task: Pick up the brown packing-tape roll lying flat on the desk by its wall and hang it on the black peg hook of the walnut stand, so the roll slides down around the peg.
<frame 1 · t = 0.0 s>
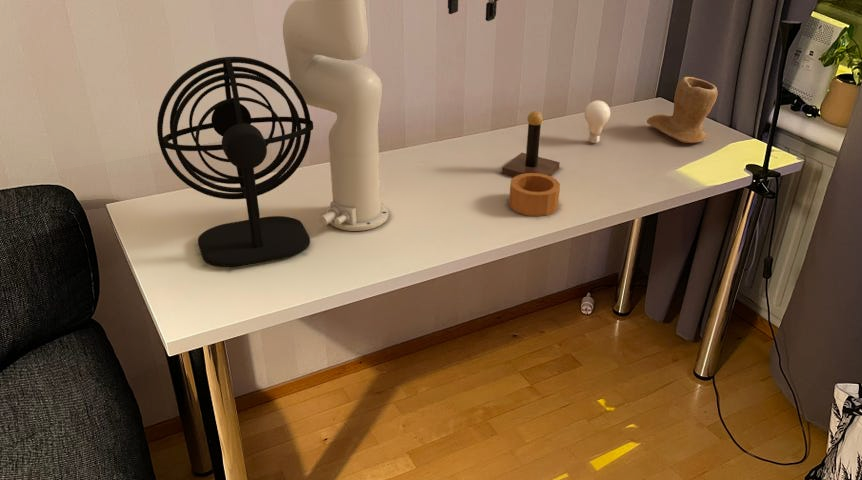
hand: (471, 16, 178), 31 cm above the table, tool pointing down, fingers open, 9 cm apart
brown boot: (680, 135, 205), on the table
hook base: (530, 170, 183), on the table
desk fan: (255, 243, 150), on the table
hook peg: (533, 138, 178), on the hook base, point 8 cm above the table
lightbulb: (593, 143, 198), on the table
tape roll: (533, 204, 168), on the table
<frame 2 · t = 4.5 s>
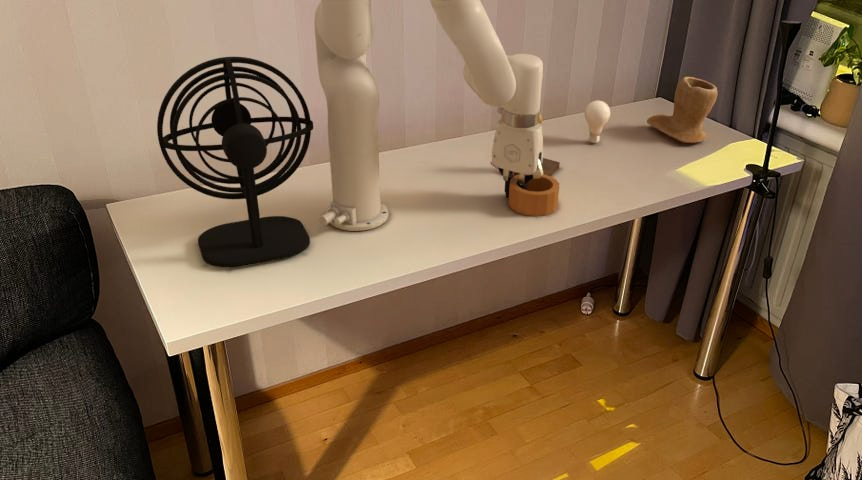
hand: (515, 197, 170), 1 cm above the table, tool pointing down, fingers closed on tape roll
tape roll: (532, 204, 168), on the table, touching gripper
everything else where it was.
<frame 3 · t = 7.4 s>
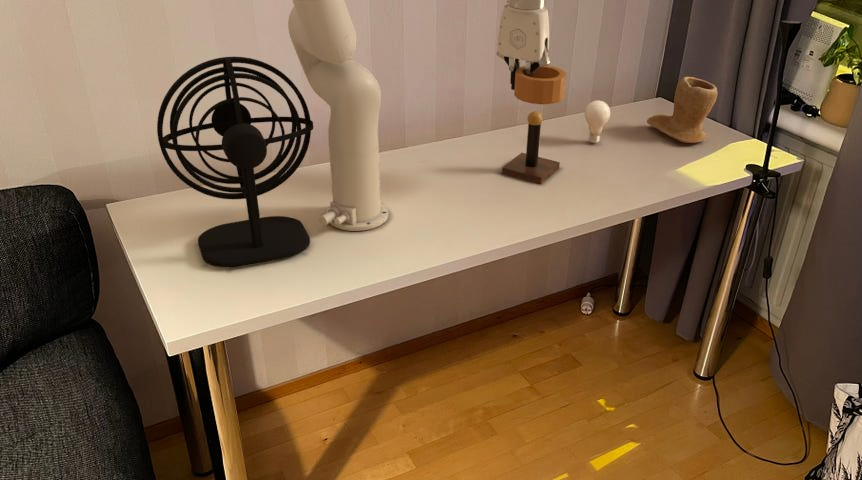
hand: (520, 88, 167), 21 cm above the table, tool pointing down, fingers closed on tape roll
tape roll: (539, 95, 166), point 21 cm above the table, touching gripper
everything else where it was.
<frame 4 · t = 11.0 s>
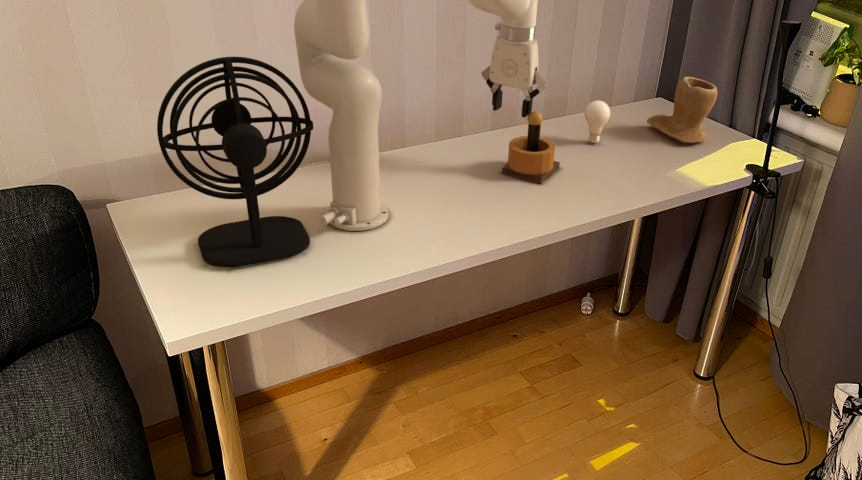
hand: (511, 111, 178), 13 cm above the table, tool pointing down, fingers open, 6 cm apart
tape roll: (530, 164, 182), point 2 cm above the table, touching hook base
everything else where it was.
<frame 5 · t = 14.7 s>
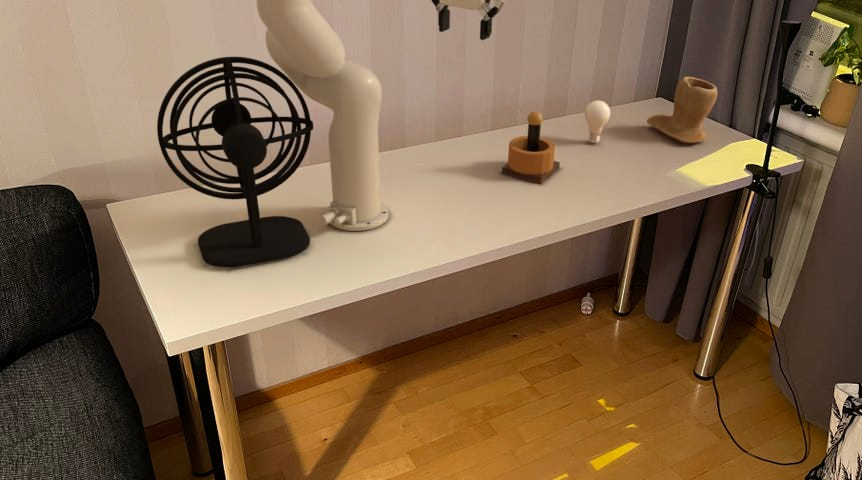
hand: (464, 34, 161), 32 cm above the table, tool pointing down, fingers open, 9 cm apart
nothing on the table moved.
at the end: tape roll 0.3 cm off-centre on the hook peg, point 1.6 cm above the hook peg's base; tape roll tilted 0°; the gripper is holding nothing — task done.
